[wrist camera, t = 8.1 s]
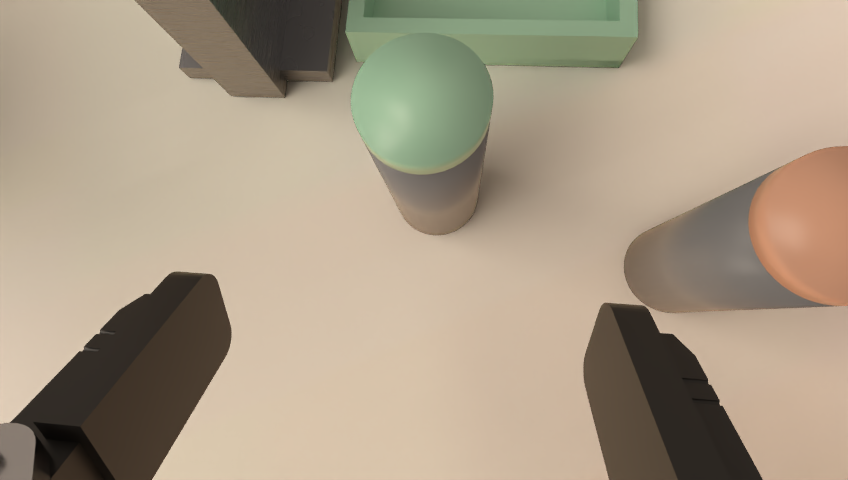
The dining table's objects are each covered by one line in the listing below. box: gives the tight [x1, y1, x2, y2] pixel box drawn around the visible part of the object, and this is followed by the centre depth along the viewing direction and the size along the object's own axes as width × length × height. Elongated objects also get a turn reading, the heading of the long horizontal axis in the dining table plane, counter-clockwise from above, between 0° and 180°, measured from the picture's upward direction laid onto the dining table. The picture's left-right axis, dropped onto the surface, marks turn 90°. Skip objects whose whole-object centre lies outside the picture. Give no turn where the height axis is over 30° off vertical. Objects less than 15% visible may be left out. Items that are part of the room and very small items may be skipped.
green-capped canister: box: [351, 33, 493, 235], centre depth 17 cm, size 4×4×10 cm
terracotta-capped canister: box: [624, 146, 848, 313], centre depth 16 cm, size 4×4×10 cm
